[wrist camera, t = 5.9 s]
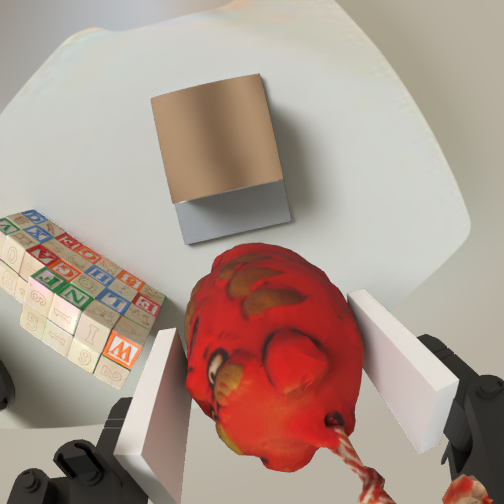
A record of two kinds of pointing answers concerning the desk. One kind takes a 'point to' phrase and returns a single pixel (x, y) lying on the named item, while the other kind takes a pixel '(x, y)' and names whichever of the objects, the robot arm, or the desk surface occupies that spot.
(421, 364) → the robot arm
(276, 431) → the red clay folk toy
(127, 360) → the stack of blocks
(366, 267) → the desk surface
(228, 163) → the plinth
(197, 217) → the board
